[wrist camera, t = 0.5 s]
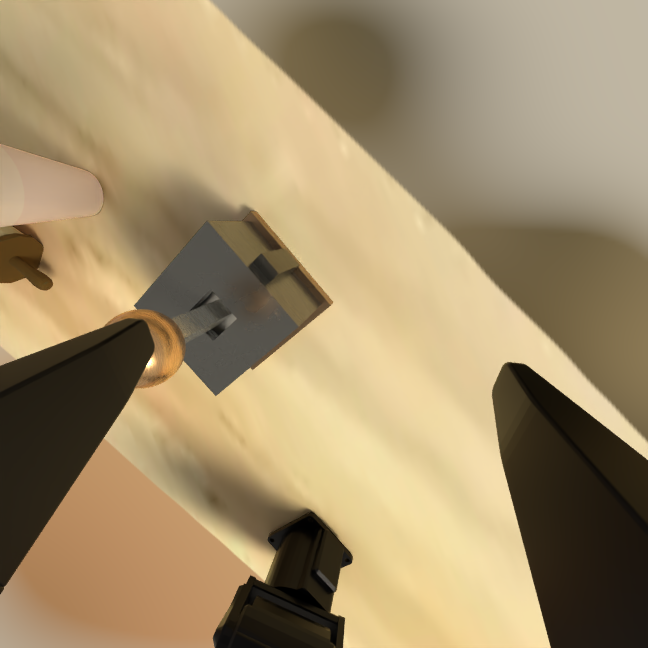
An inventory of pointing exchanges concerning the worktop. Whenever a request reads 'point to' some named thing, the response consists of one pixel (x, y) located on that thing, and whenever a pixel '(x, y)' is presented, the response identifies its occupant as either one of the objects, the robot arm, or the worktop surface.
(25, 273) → the rolling pin
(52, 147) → the worktop surface
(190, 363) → the copper ball lever box
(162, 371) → the copper ball knob
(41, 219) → the smoothie
